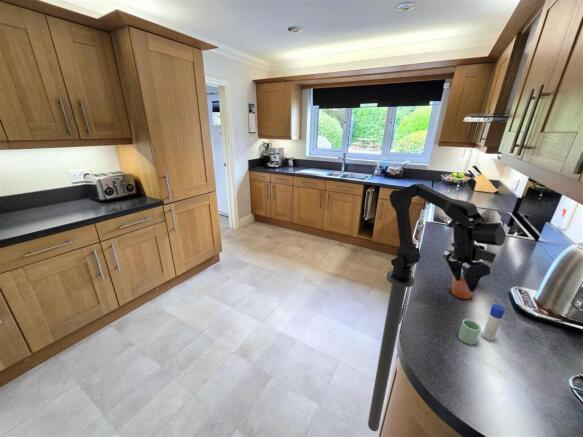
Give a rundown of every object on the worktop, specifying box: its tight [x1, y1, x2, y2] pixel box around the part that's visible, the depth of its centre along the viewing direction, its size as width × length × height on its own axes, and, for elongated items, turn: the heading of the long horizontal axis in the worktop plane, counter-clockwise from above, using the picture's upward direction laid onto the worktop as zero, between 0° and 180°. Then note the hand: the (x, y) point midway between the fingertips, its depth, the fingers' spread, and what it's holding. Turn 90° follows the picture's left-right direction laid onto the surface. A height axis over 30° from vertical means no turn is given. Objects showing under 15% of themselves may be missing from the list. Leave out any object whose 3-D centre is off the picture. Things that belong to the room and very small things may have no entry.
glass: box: [457, 318, 482, 346], centre depth 75 cm, size 5×5×6 cm
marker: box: [482, 303, 506, 341], centre depth 74 cm, size 3×3×12 cm
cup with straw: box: [451, 270, 482, 300], centre depth 94 cm, size 9×9×18 cm
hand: (464, 285), depth 82 cm, fingers open, 9 cm apart
